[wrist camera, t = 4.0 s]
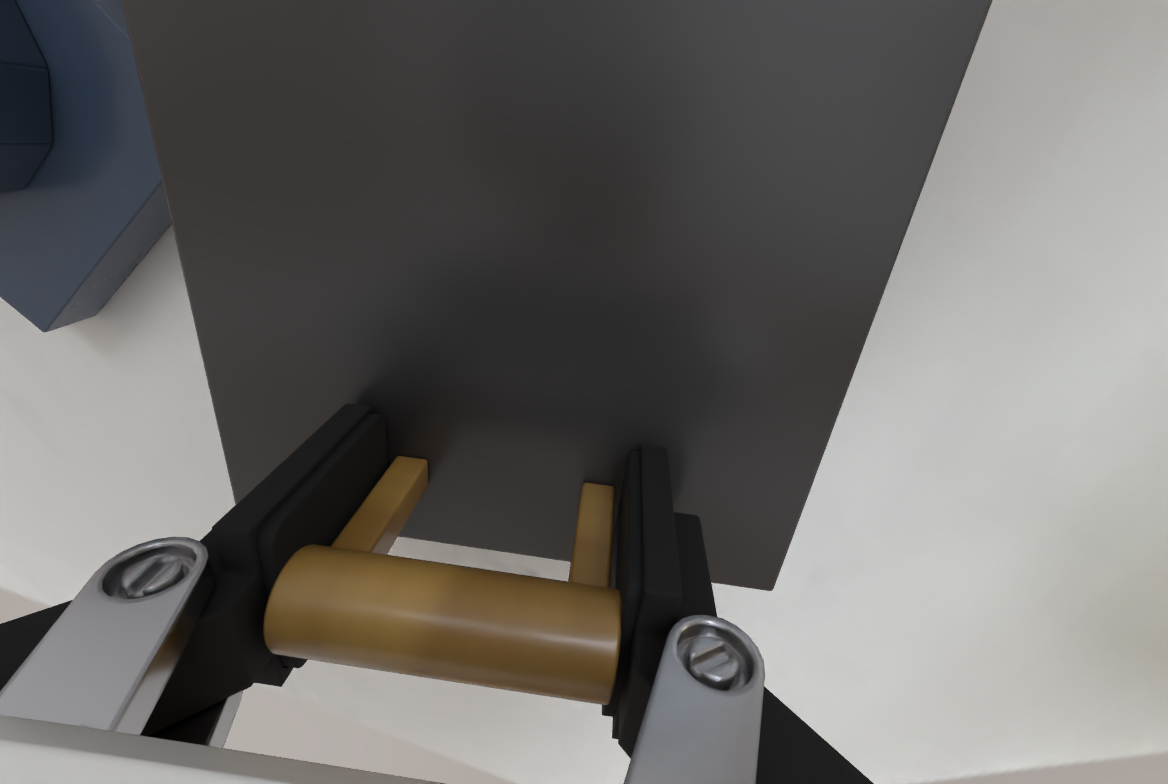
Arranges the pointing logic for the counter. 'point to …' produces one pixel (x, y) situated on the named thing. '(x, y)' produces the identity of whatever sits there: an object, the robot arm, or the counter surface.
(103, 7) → the blue button base
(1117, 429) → the counter surface
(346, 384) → the dark slab with handle
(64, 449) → the counter surface
